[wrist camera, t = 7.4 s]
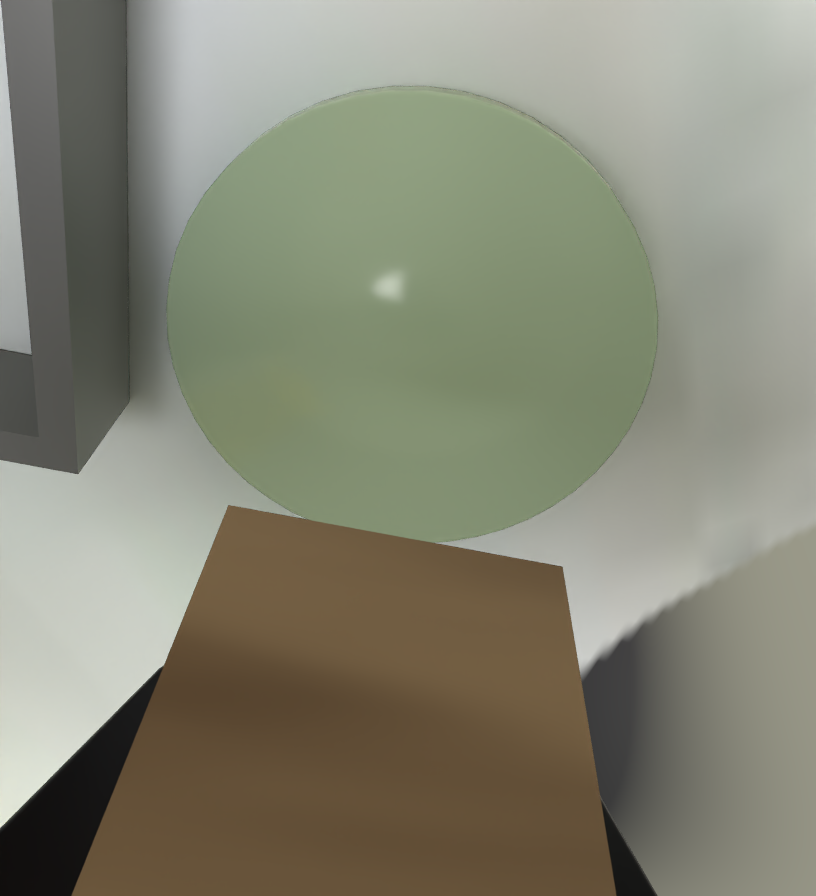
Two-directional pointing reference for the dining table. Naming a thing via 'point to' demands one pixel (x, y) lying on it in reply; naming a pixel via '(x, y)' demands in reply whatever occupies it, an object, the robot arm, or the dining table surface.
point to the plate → (412, 314)
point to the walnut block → (360, 729)
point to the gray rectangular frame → (68, 229)
